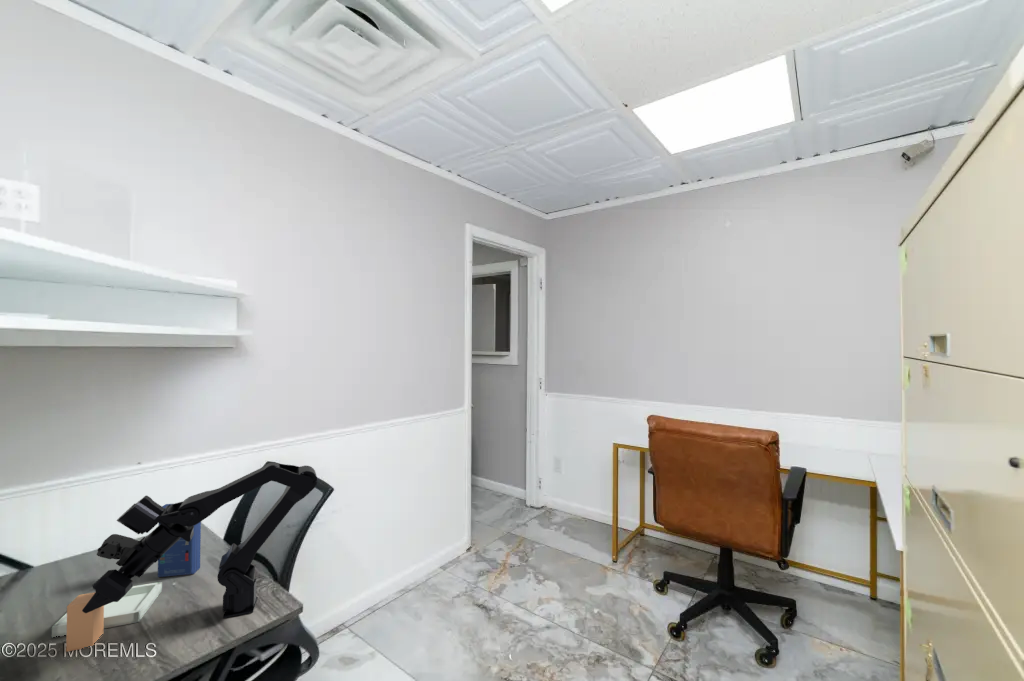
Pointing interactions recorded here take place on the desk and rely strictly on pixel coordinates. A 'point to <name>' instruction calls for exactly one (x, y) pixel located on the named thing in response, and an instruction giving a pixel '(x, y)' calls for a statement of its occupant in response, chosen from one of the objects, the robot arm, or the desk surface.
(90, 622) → the block
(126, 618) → the tray
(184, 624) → the desk surface
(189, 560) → the electronic device
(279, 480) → the robot arm
